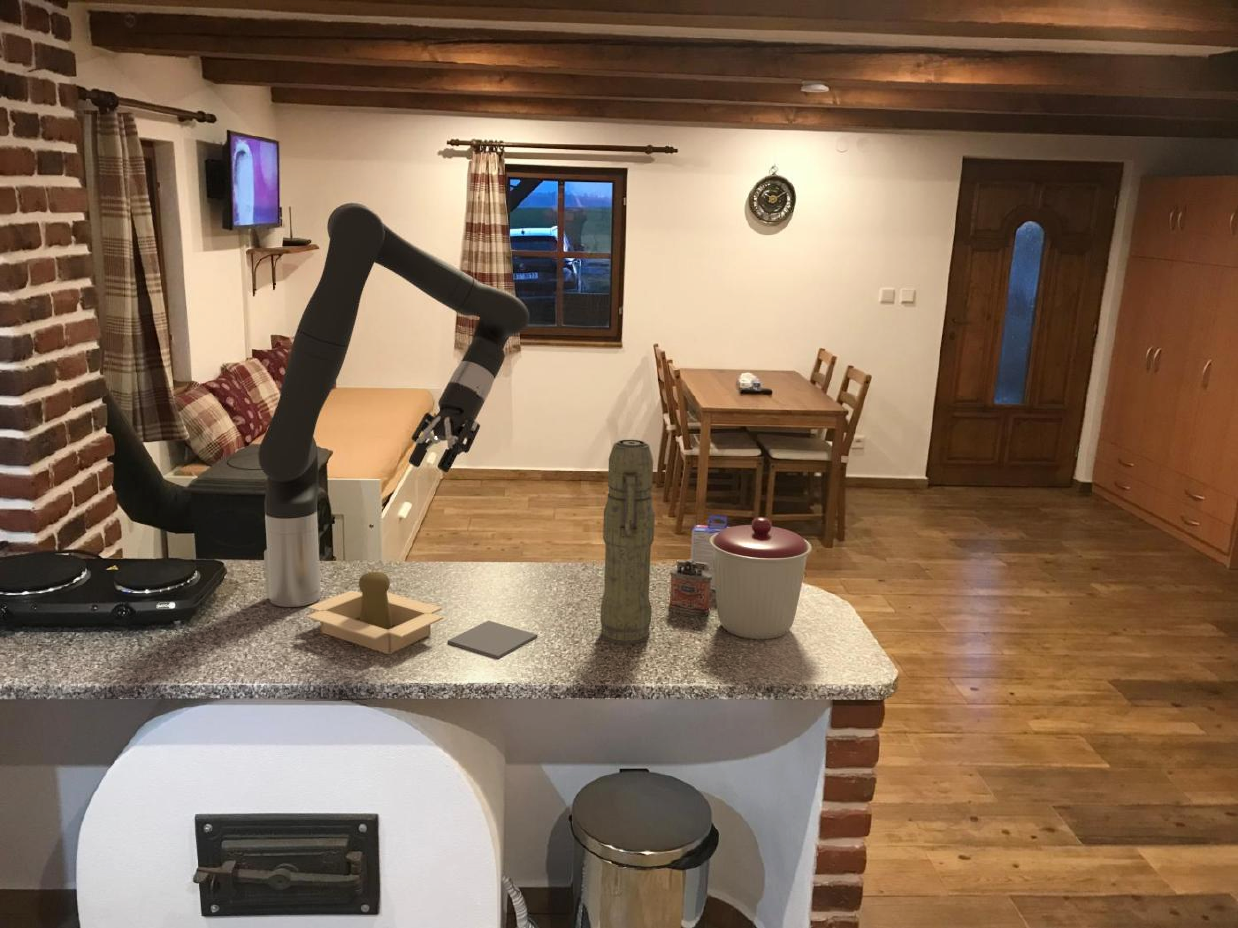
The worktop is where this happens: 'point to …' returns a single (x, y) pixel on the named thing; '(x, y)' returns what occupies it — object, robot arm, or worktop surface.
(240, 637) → the worktop surface
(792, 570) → the canister
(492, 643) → the mat
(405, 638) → the carton
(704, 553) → the ink cartridge box
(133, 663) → the worktop surface
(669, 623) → the worktop surface
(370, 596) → the cork
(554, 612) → the worktop surface
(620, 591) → the thermos
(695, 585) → the lighter
